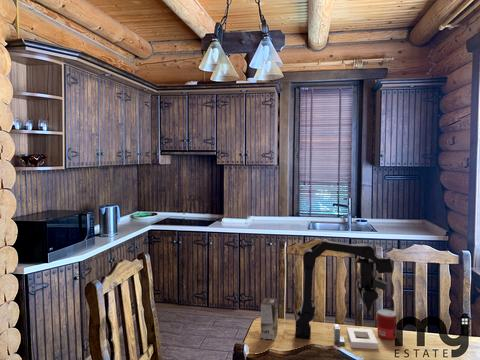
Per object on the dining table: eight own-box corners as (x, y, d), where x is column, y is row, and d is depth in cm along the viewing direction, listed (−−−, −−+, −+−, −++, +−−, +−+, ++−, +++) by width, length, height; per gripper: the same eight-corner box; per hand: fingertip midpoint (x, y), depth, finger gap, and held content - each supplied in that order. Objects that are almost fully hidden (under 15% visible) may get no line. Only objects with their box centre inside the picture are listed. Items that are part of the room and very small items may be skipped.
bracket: (335, 344, 153) (335, 328, 153) (334, 339, 158) (334, 323, 158) (344, 345, 152) (344, 329, 152) (343, 340, 157) (343, 324, 157)
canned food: (398, 341, 156) (398, 316, 156) (379, 339, 157) (379, 315, 157) (394, 333, 163) (394, 309, 163) (376, 331, 165) (376, 308, 165)
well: (351, 347, 150) (351, 341, 150) (346, 332, 164) (346, 327, 164) (378, 349, 149) (378, 343, 148) (371, 334, 162) (371, 328, 162)
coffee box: (274, 341, 157) (274, 305, 156) (260, 339, 159) (260, 304, 158) (278, 332, 166) (277, 298, 165) (264, 330, 167) (264, 297, 167)
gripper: (391, 279, 146) (391, 316, 146) (380, 267, 164) (380, 300, 165) (363, 278, 148) (363, 315, 148) (356, 266, 166) (356, 299, 166)
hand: (366, 307), depth 157 cm, fingers open, 9 cm apart
